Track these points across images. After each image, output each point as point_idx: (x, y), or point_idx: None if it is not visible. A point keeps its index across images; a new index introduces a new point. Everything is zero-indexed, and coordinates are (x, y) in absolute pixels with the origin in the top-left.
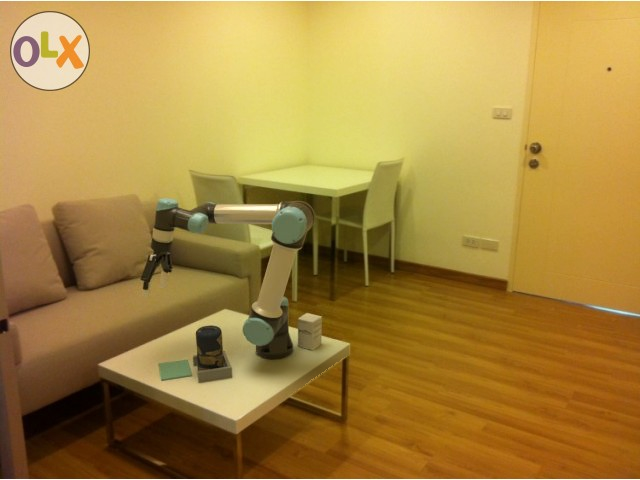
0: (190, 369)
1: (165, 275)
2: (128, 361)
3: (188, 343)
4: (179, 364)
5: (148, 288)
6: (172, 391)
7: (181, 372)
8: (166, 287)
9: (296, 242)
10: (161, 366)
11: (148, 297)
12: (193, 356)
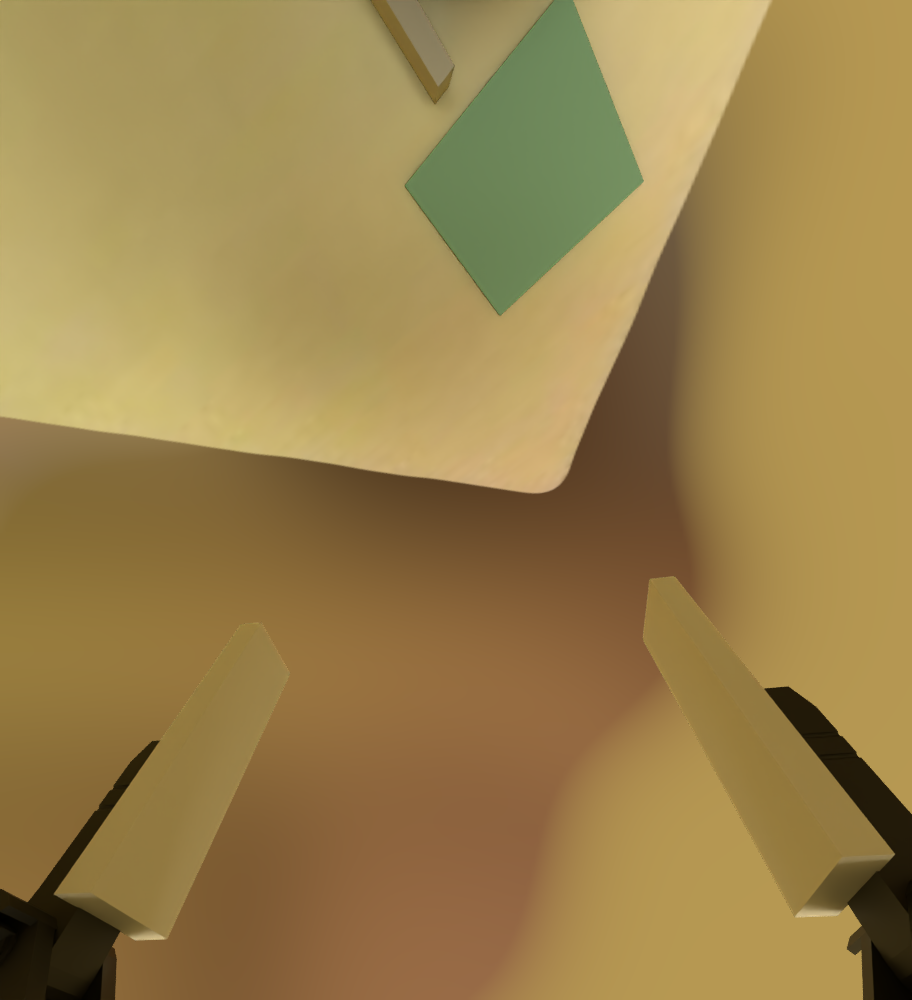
0: (508, 61)
1: (161, 833)
2: (509, 443)
3: (255, 324)
4: (475, 194)
5: (761, 704)
6: (754, 5)
7: (556, 104)
8: (236, 632)
9: None
10: (522, 281)
11: (670, 584)
12: (450, 66)
